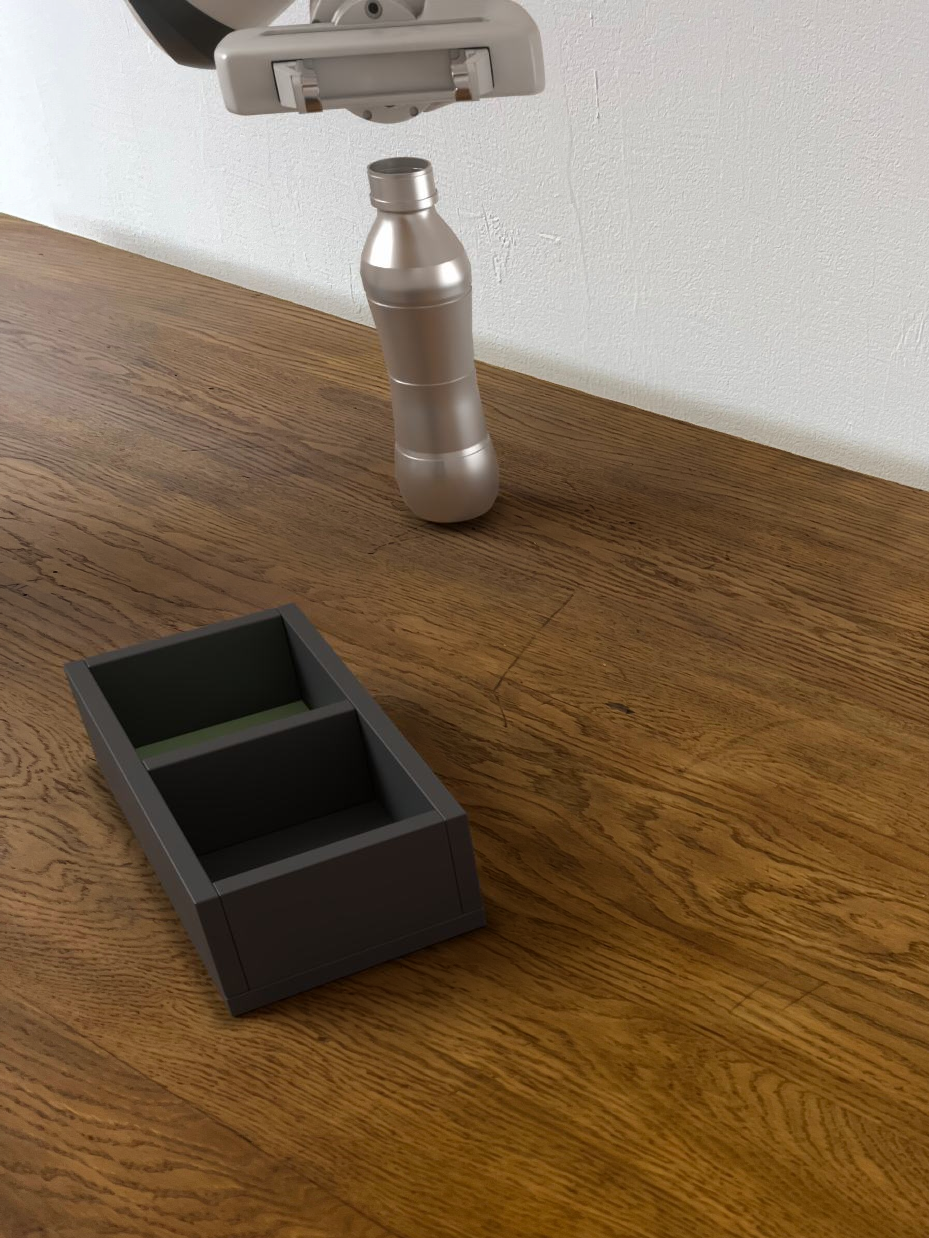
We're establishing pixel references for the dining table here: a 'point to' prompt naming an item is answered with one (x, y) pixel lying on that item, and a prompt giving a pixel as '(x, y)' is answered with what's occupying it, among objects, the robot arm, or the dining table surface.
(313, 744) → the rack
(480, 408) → the silver metal bottle
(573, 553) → the dining table surface
